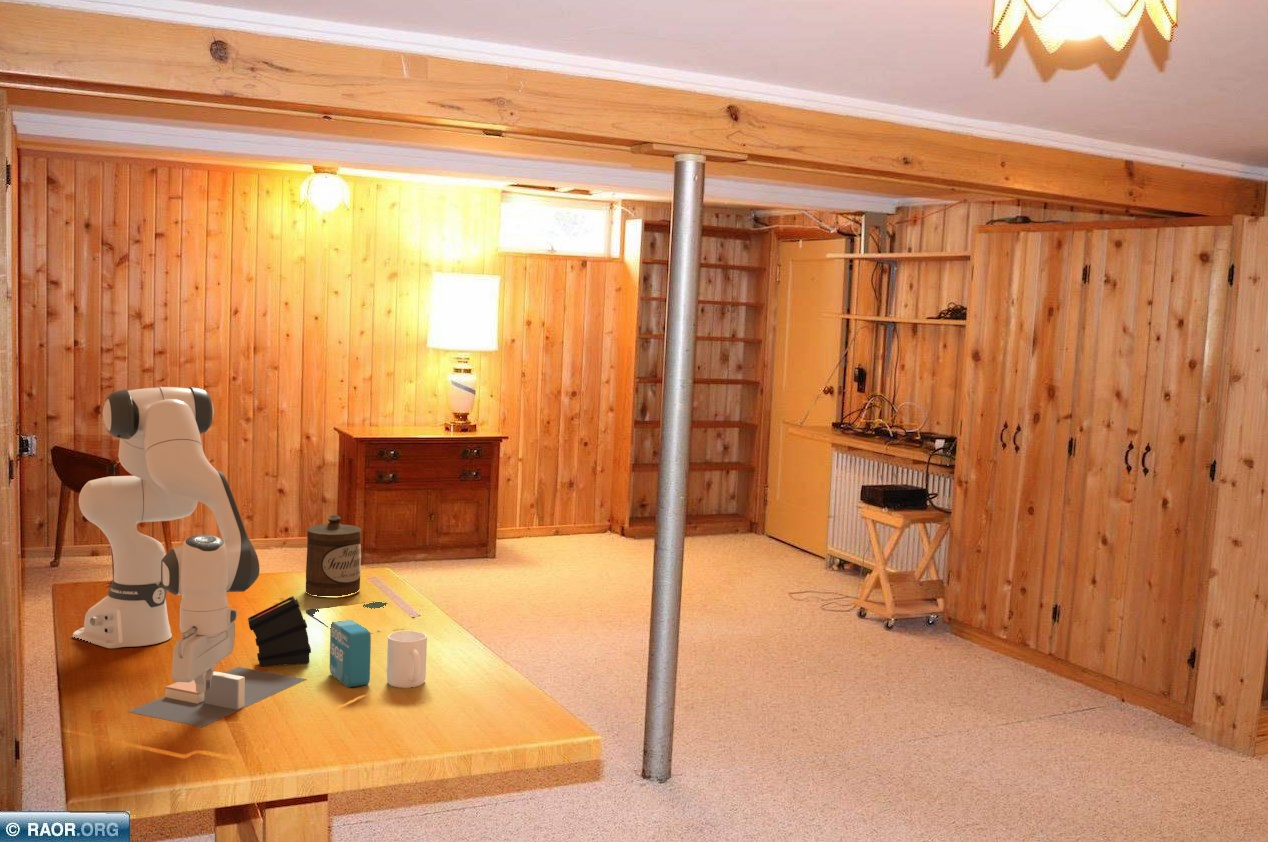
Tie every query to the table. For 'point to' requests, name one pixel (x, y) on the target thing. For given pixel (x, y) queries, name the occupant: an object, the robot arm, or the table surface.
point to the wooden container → (333, 559)
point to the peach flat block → (184, 692)
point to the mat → (204, 714)
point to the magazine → (281, 634)
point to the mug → (406, 659)
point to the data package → (350, 653)
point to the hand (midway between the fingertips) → (203, 690)
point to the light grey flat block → (226, 691)
